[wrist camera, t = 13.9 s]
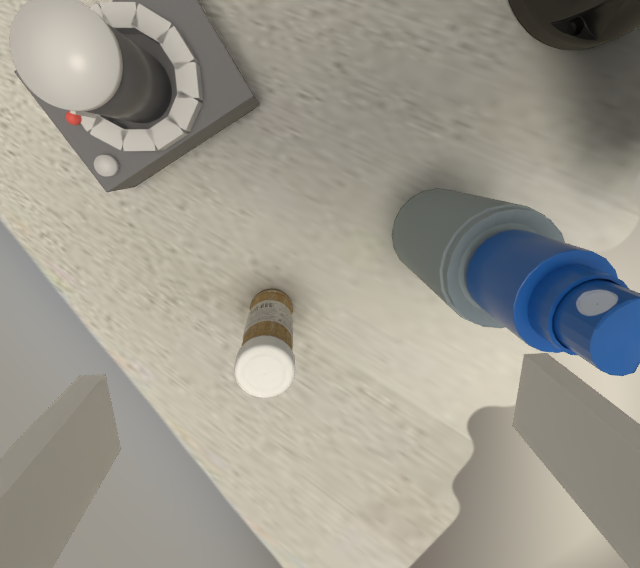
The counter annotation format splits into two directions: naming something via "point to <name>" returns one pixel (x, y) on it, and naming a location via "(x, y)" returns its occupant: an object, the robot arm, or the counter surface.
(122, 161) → the grey block with ring
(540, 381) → the robot arm
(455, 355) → the counter surface
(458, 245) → the spray bottle
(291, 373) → the sprinkles bottle
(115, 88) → the grey cylinder
